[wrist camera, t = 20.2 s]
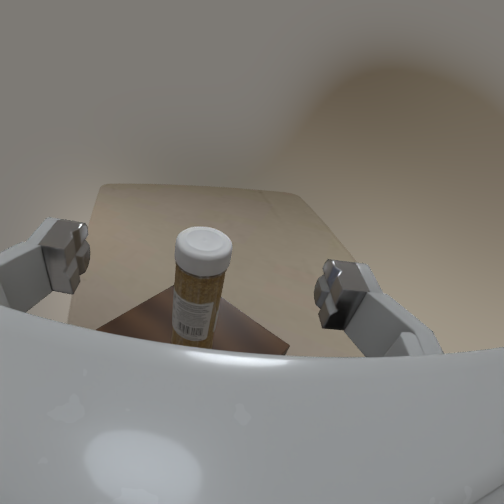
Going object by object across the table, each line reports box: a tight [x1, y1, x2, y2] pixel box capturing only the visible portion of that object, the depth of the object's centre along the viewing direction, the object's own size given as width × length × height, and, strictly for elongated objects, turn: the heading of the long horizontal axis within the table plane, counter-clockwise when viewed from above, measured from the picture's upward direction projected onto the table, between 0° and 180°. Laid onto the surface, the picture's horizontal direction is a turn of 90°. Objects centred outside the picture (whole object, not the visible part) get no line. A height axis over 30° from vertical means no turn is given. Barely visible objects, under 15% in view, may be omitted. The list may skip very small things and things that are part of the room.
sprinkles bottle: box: [171, 227, 232, 349], centre depth 28 cm, size 5×5×14 cm
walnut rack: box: [96, 285, 290, 355], centre depth 34 cm, size 16×16×9 cm
